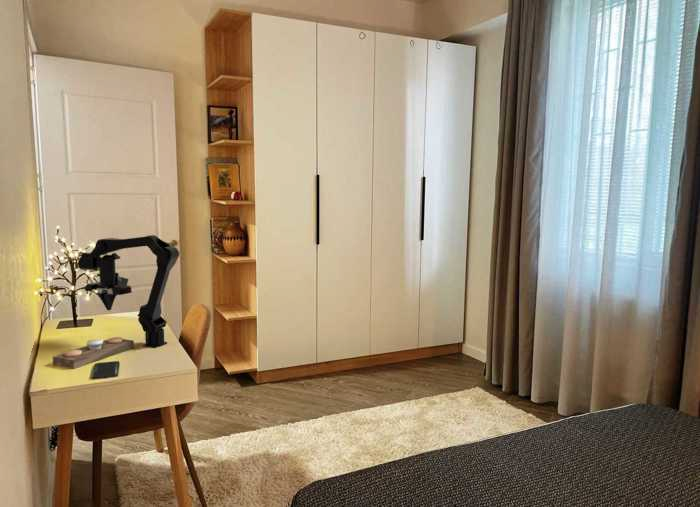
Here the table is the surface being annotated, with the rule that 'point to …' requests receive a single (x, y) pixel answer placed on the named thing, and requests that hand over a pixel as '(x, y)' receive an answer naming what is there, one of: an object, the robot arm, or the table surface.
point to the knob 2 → (115, 340)
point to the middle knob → (95, 344)
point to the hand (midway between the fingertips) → (109, 310)
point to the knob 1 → (73, 353)
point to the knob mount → (92, 354)
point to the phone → (105, 370)
